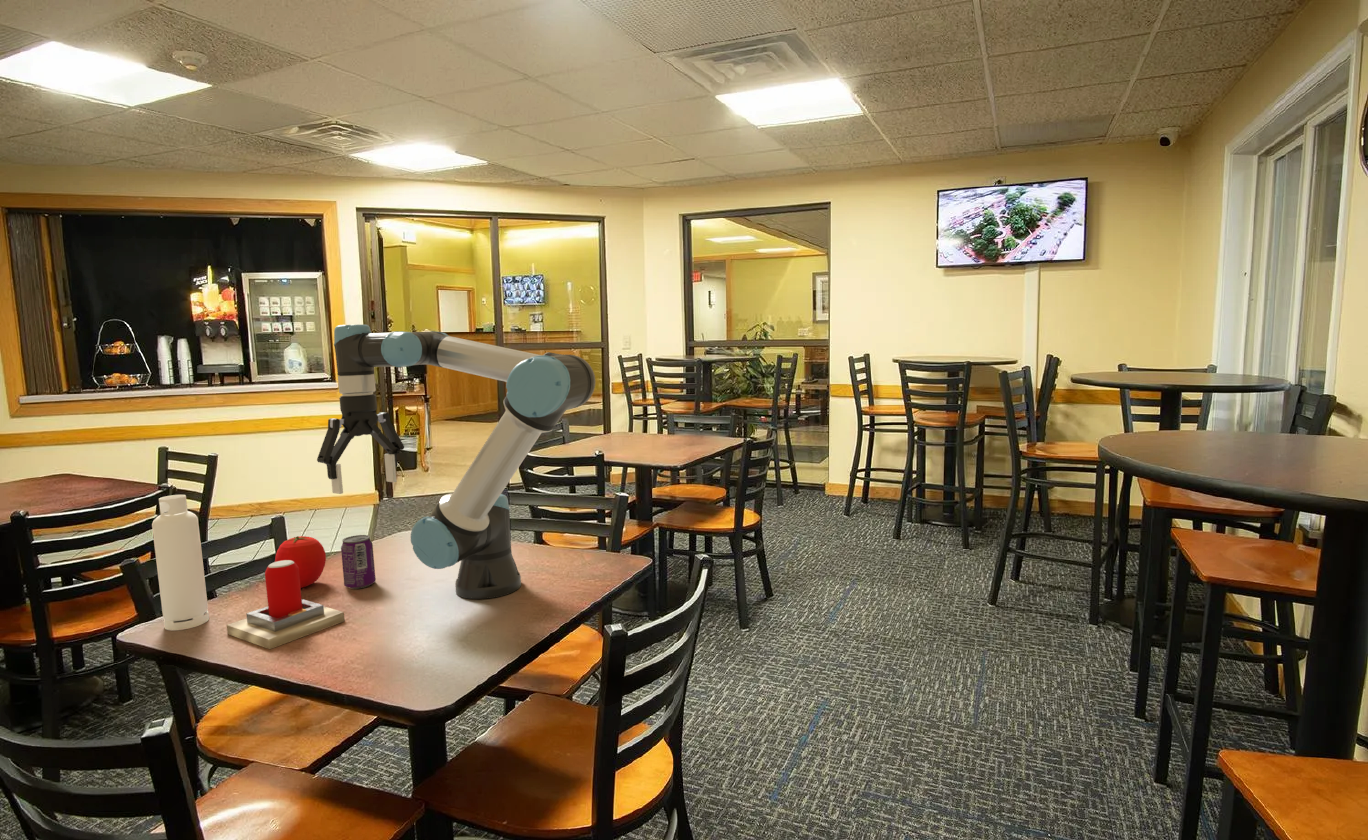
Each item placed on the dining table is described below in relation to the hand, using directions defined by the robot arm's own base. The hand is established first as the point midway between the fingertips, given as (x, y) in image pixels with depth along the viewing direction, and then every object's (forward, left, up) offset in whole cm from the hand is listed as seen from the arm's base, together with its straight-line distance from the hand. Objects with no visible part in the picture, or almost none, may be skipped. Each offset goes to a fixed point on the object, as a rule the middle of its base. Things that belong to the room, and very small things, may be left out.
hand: (365, 487), depth 165 cm
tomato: (+26, +2, -27) cm, 37 cm away
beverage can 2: (+13, -5, -27) cm, 30 cm away
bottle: (+26, +28, -27) cm, 47 cm away
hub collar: (+3, +19, -25) cm, 31 cm away
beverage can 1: (+3, +19, -25) cm, 31 cm away
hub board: (+3, +19, -27) cm, 33 cm away
